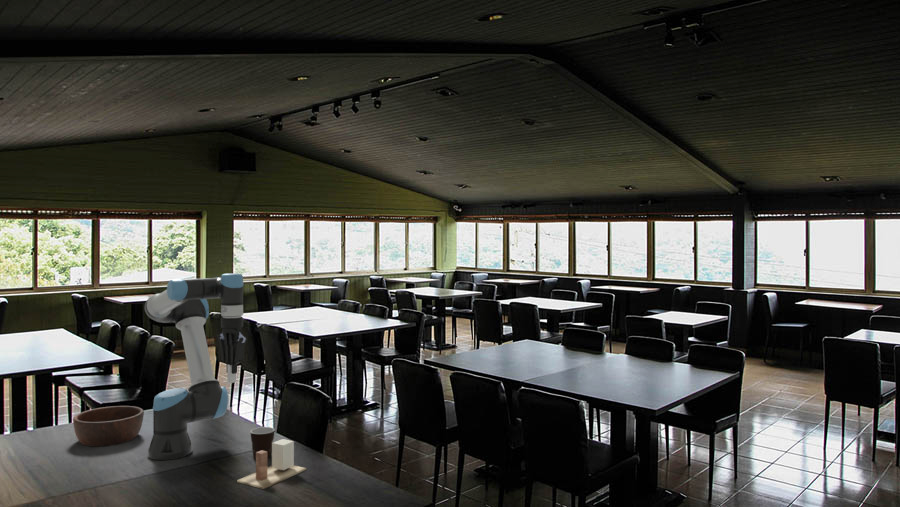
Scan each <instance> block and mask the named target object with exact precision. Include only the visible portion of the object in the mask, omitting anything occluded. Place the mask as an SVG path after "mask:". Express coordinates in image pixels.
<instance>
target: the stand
mask: <svg viewBox="0 0 900 507" xmlns="http://www.w3.org/2000/svg"><path fill="white" fill-rule="evenodd" d="M306 470H307V467H302V466H298V465H296V464H294V466H292V467H290V468H287V469H285V470H280V469H276V468H272V465H270V466H268V459H267V451H263V450H261V451H259V452H256V460H255V472H254V473H251V474H248V475H246V476H244V477H242V478H239V479H237V481H236V482H237V483H240V484H243V485H245V486H246V485H247V486H251V487H255V488H257V489H261V490H265V489H267V488H269V487H272V486H274V485H276V484H278V483H280V482H283V481H285V480H287V479H289V478H291V477H293V476H295V475H298V474H300V473H303V472H304V471H306Z"/></svg>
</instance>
